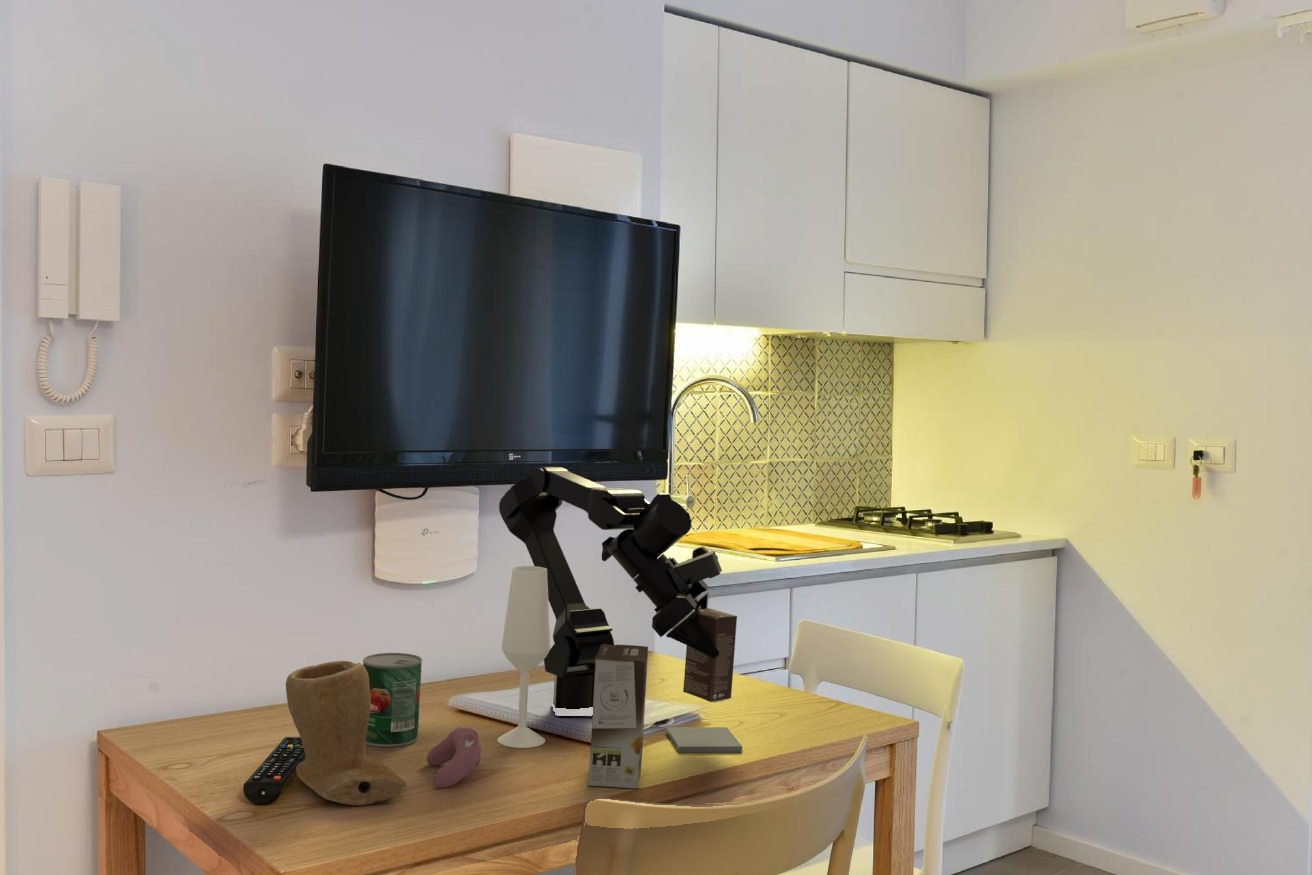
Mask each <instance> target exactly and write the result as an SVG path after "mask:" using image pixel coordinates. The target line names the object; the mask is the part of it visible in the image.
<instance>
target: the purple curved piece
mask: <svg viewBox="0 0 1312 875" xmlns="http://www.w3.org/2000/svg"><path fill="white" fill-rule="evenodd" d="M479 738H480V737H479V733H478V732H477V731H476V730H474V729H472V728H470V727H462V726H461V725H458V726H457V728H455V729H454V730H452V731H451V732H450V734H448V735H447V736H446V738H444V739H442V741H440V742H438V743H437V744H436V745H435V746H433V747H432V748H430V751H429V752H428V754H427V757H426V763H427V765H429V766H430V767H437V766H441V765H443V766H441V768H438V771H436V773H435V774H434V777H433V781H432V782H433V786H435V788H437V789H445V788H449V787H451V786H454V785H455V784H457V783H459V782H462V780H463V779H464V778H465V777H466V776H467V775H468V774H469V773H471V772H472V771H473V770H474V769H475V767H477V768H478V767H479V766H481V763H482V759H483V758H482V756H481V755H482V754H481V753H482V747H481V746H480V739H479Z"/></svg>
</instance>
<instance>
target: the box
mask: <svg viewBox="0 0 1312 875" xmlns="http://www.w3.org/2000/svg"><path fill="white" fill-rule="evenodd" d="M737 619H738V615H734V614H730V613H727V612H723V611H719V610H717V609H712V608H711V607H710V608H709V607H708V609H701V614H700V621H701V623H702V624H703V626H704V628H705V629H706V631H707V632H708V634H709V636H710V637H711V639H712V640H713V642H714V644H715V645H716V647H717V649H718V651H719V652H720V654H719V655H718V656H717V657H716V658H712V657H710V656H708V655H706V654H704V653H702V652H700V651H698V650H696V649H694V648H692V647H689V646H687V645H686V651H685V664H684V666H685V667H684V677H683V688H682V691H683V693H685V694H688V695H691V696H694V697H697V698H699V699H701V700H705V701H707V702H708V703H709V702H710V703H717V702H722V701H726V700H729V699H732V689H733V677H734V676H733V675H734V663H735V662H734V661H735V650H736V648H735V647H736V634H737V621H738V620H737Z"/></svg>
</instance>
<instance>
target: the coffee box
mask: <svg viewBox="0 0 1312 875" xmlns="http://www.w3.org/2000/svg"><path fill="white" fill-rule="evenodd" d="M648 654H649V646H644V645H634V644H633V645H632V644H631V645H630V644H614V645H608V644H602V645H601V647H600V649H599V651H598V653H597V655H596V657H595V680H594V696H593V715H592V718H591V733H590V734H591V736H590V752H589V754H590V756H589V767H588V768H589V770H588V772H589V773H588V786H591V787H606V788H620V789H621V788H622V789H631V790H632V789H637V788H638V785H639V780H640V774H641V771H642V770H641V769H642V761H643V749H644V748H643V745H644V728H645V727H644V726H645V713H646V711H645V710H646V707H645V706H646V692H647V690H646V689H647V676H648V675H647V674H648V657H649V656H648Z"/></svg>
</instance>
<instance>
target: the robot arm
mask: <svg viewBox="0 0 1312 875" xmlns="http://www.w3.org/2000/svg"><path fill="white" fill-rule="evenodd" d="M563 502H566V503H567V504H569V505H572V506H574V507H576V508H578V509H580V510H583V511H585V513H587V517H588V520H589V521H590V522H592V523H593V524H594V525H595V526H597V527H598V528H599V529H600V530H603V531H612V530H613V531H614V530H616V531H617V530H623V531H621V532H620V533H619V534H618V535H617V536H615V537H613V536H609V537H607V538H606V539H605V540H604V541H603V542H602V543H601V545H602V551H601V560H602V561H603V562H606V561H607V560H609V559H610V558H611V557H613V559H615V561H617V562H618V564H619V565H620V567H622V569H623V570H624V571H625V572H626V573H627V574H628V576H629V577H630V578H631V579H632V580H633V581H634V583H635V584H636V586H635V590H636V591H637V592H639V593H641V592H643V593H644V595H645V596H646V597H647V598H648V599H649V600H650V601H651V603H652V604H653V605H654V606H655V608H654V609H653V610H654V612H655V614H654V615H653V617H652V619H651V620H652V621H651V622H652V623H651V628H652V629H653V630H654V632H655V633H656V634H657V635H658V636H659V637H660V638H662V637H664V636H665V637H666V638H668V639H672V640H675V641H677V642H679V643H681V644H684V645H685V646H686V647H687V646H689V647H692V648H694V649H696V650H698V651H700V652H702V653H704V654H706V655H708V656H710V657H712V658H716V657H717V656H718V655H719V654H720V652H719V651H718V649H717V647H716V645H715V644H714V642H713V640H712V639H711V637H710V636H709V634H708V632H707V631H706V629H705V628H704V626H703V624H702V623H701V621H700V614H701V609H709V606H708V605H709V596H710V593H709V592H707V590H708V589H709V585H708V584H707V583H706V582H705V581H704V580H706V579H712V578H715V577H717V576H719V575H721V572H723V569H722V567H721V564H720V560H718V559H719V556H718V555H717V553H716V550H710V551H709V550H708V549H707V548H706V547H705V546H704V545H702V546H699V547H697V548H694V549H693V550H692V554H691V558H688V559H686V560H684V561H681V562H678V561H677V560H676V559H675V558H674V557H670V556H669V557H667V556H666V555H665V554H664V553H666V552H667V551H668V550H669V549H671V547H672V546H674V545H675V544H676V543H677V542H678V541H679V540H681V539H682V538H683V537H685V536H686V534H688V533H689V532H690V530H691V528H692V519H691V516H690V513H689V512H688V511H687V510H686V509H685V508H684V506H682V504H680V503H679V502H676V501H675V500H673V499H672V496H671V494H670V493H657V495H655V496H654V497H653V499H652V500H651V501H648V500H647V499H646V495H644V493H643V492H641V491H640V490H638V489H630V488H622V487H621V488H619V487H618V488H617V487H607V486H604V485H602V484H600V483H597V482H594V481H592V480H590V479H587V478H584V477H583V476H580V475H578V474H575V473H573V472H571V471H569V470H568V469H566V468H564V467H562V466H561V467H560V466H559V467H558V466H541V467H539V468H537V469H535V470H534V471H533V472H532V473H531V474H530V476H528V477H526V478H524V479H523V480H520V481H518V482H517V483H515V484H513V485H512V486H511V487H510V488H509V489H508V490H507V491H506V492H505V494H504V495H503V496H502V497H501V498H500V500H499V503H498V505H499V506H498V512H499V514H500V516H501V519H502V521H503V523H504V524H505V526H506V527H507V529H508V531H509V532H510V533H511V534H512V535H513V536H515V537H516V538H517V539H519V540H520V541H521V542H523V544H525V547H526V550H527V552H528V554H529V556H530V559H531V561H532V564H533V566H536V567H543V568H546V569H547V580H548V604H549V605H550V607H551V610H552V612H553V614H554V617H555V623H554V629H553V634H552V639H553V645H552V646H551V647H550V651H549V653H548V655H547V656H546V657H545V659H544V660H543V664H544V670H545V672H546V673H549V674H551V675H554V680H553V682H554V683H553V697H552V698H553V701H552V702H553V704H554V706H555V708H566V709H580V708H589V707H593V696H594V680H595V657H596V655H597V653H598V651H599V649H600V647H601V645H602V644H608V645H615V640H614V636H613V634H612V632H613V628H612V626H610V624H609V623H608V620H607V617H606V614H605V611H604V610H603V609H602V608H601V607H598V608H597V607H596V608H590V607H589V606H587V605H586V603H585V600H584V598H583V595H582V593H581V591H580V588H579V586H578V584H577V582H576V579H575V577H574V575H573V572H572V570H571V568H570V564H569V563H568V561H567V559H566V556H565V554H564V552H563V549H562V547H561V544H560V543H559V540H558V537H557V535H556V533H555V530H554V529H555V525H556V521H557V516H558V515H557V510H558V509H559V508H560V507H561V505H562V504H563ZM705 592H706V593H705ZM702 593H705V594H704V595H703V596H702V597H701V596H700V595H701V594H702Z"/></svg>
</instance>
